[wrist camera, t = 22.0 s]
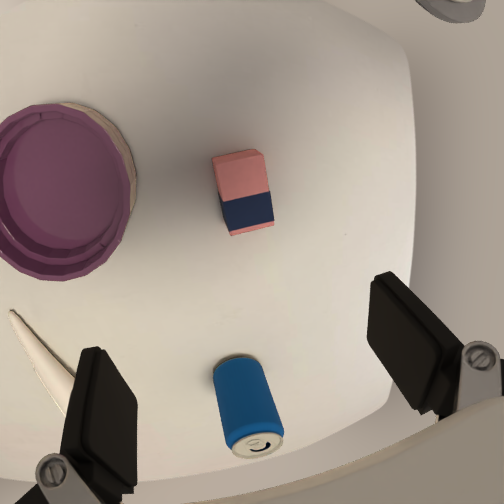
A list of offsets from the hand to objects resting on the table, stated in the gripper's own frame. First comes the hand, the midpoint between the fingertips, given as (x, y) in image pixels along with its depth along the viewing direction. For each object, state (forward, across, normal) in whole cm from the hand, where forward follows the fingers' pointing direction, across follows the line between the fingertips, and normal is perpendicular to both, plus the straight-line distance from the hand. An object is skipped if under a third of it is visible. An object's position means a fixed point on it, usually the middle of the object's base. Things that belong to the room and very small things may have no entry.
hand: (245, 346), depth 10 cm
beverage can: (+21, +2, +25) cm, 32 cm away
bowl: (+21, +13, -4) cm, 25 cm away
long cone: (+21, +23, +17) cm, 36 cm away
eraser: (+21, -3, +1) cm, 21 cm away
